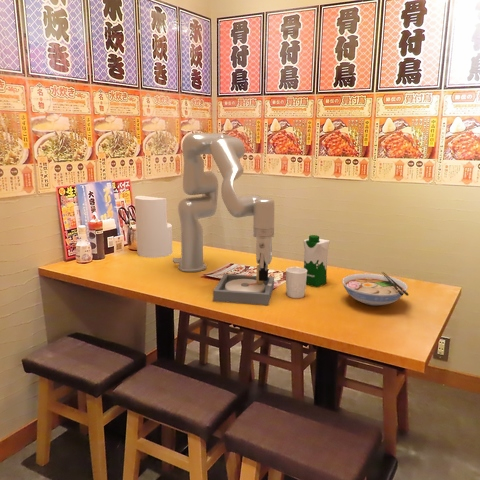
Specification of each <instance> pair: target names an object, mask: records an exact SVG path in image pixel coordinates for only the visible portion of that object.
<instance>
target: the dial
mask: <svg viewBox="0 0 480 480" xmlns="http://www.w3.org/2000/svg"><path fill="white" fill-rule="evenodd" d="M255 276H256V280H253V279H236V280H232V281H229V282H227V283H226V284H225V290H230V291H244V292H259V293H264V292H265V284H264V283H263V281H259V264H257V265H256V275H255Z"/></svg>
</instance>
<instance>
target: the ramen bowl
mask: <svg viewBox="0 0 480 480" xmlns="http://www.w3.org/2000/svg"><path fill="white" fill-rule="evenodd" d="M342 285H343V287H344V289H345V291H346V292H347V293H348V295H349V296H350V297H352V298H353V299H354V300H356V301H358V302H361V303H363V304H365V305H368V306H370V307H373V306H374V307H378V306H379V307H380V306H386V305H389V304H393V303H395V302H397V301H398V300H399V299H400V298H401V297H403V296H404V295H405V296H409V293H408V292H407V290H408V289H409V287H408V284H407V283H406V282H404V281H403V280H401V279H399V278H396V277H393V276H389V275H387V274H386V273H385V272H384V271H382V274H379V273H378V274H377V273H376V274H375V273H366V272H365V273H354V274H349V275H347V276H345V277H343V278H342Z"/></svg>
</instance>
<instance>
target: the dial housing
mask: <svg viewBox="0 0 480 480" xmlns="http://www.w3.org/2000/svg"><path fill="white" fill-rule="evenodd" d="M236 279H253V280H256V275H253V274H232V273H224V274H223V276H222V277H221V278H220V280H219V282H218V283H217V284H216V286H215V287H214V289H213V293H212V294H213V300H212V301H213V302H217V303H218V302H220V303H232V304H247V305H259V306H261V305H262V306H269V305H270V301H271V297H272V295H273V290H274V287H275V276H268V280H267V281H263V283H264V284H265V292H264V293H259V292H244V291H230V290H225V284H226V283H227V282H229V281H232V280H236Z"/></svg>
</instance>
